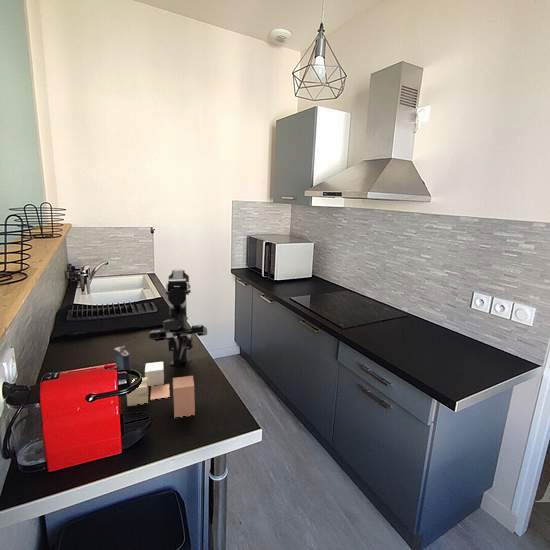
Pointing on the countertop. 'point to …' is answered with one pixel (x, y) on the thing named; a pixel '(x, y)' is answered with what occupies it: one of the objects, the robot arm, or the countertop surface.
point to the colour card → (160, 392)
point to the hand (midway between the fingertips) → (178, 358)
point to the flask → (122, 358)
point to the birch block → (139, 393)
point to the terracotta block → (183, 396)
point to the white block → (155, 373)
